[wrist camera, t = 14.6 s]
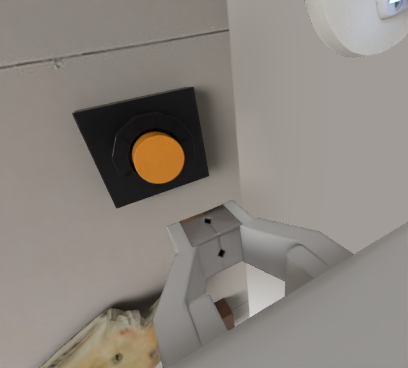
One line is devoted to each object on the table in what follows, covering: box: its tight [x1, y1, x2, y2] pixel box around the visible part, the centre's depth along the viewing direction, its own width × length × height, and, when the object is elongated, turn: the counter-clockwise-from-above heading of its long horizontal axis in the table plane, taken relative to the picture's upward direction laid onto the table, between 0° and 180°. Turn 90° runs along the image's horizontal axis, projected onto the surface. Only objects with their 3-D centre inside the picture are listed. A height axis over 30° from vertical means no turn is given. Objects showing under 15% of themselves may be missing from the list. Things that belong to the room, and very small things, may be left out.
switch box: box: [72, 87, 209, 208], centre depth 19 cm, size 10×9×4 cm
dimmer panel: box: [214, 298, 235, 331], centre depth 36 cm, size 11×9×3 cm
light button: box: [132, 131, 184, 184], centre depth 17 cm, size 4×4×2 cm
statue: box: [40, 297, 161, 368], centre depth 26 cm, size 10×7×30 cm
